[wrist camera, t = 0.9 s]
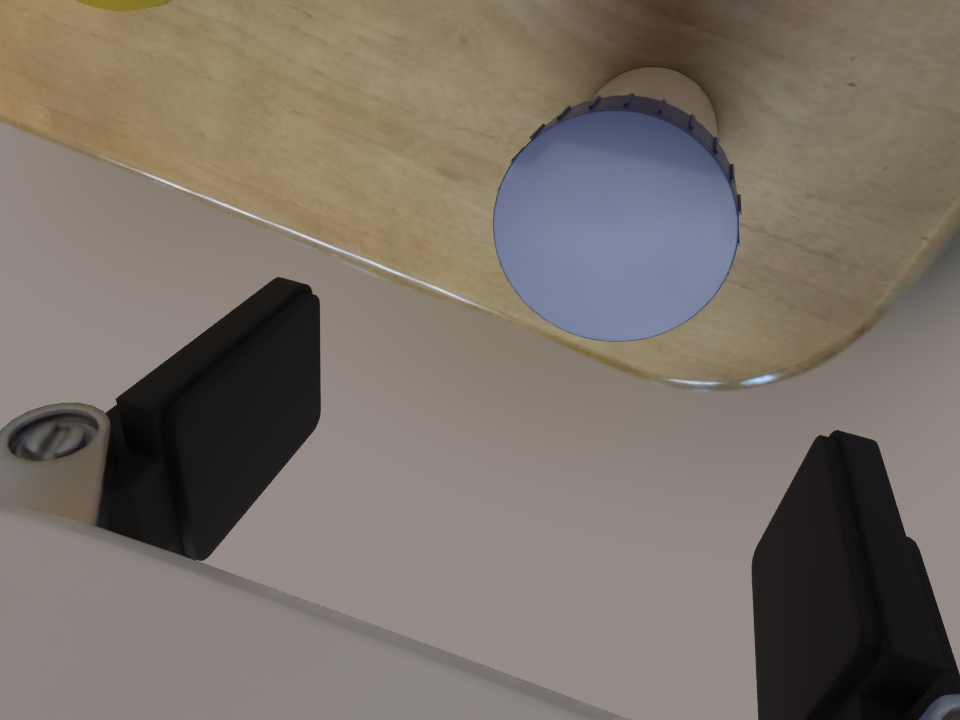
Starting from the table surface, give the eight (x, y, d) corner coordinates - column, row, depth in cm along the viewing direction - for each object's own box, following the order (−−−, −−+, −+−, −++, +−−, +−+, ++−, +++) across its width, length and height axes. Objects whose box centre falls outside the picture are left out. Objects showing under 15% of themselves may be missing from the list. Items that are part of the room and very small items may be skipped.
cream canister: (737, 81, 26) (745, 155, 17) (693, 218, 29) (680, 339, 20) (595, 54, 27) (532, 110, 18) (567, 189, 30) (502, 292, 21)
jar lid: (777, 120, 18) (782, 138, 16) (696, 337, 22) (694, 369, 20) (528, 70, 19) (510, 83, 17) (494, 284, 23) (477, 310, 21)
